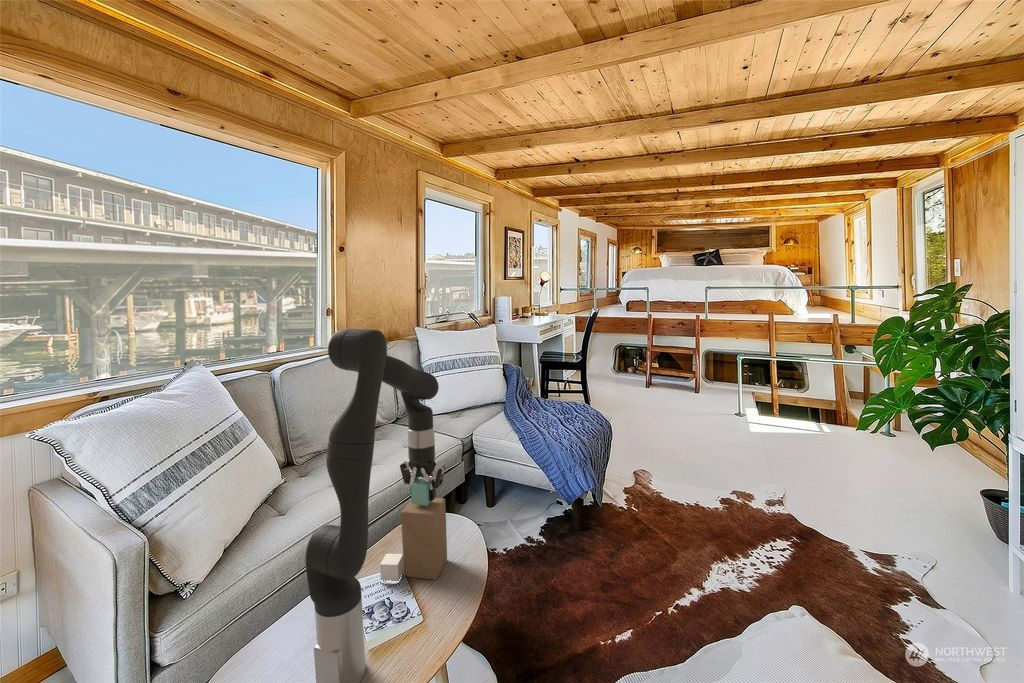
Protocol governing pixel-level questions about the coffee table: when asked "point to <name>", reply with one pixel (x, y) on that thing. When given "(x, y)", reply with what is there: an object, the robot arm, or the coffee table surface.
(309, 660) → the coffee table surface
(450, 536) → the coffee table surface
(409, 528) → the wooden block
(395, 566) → the cream block
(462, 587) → the coffee table surface
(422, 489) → the teal block
